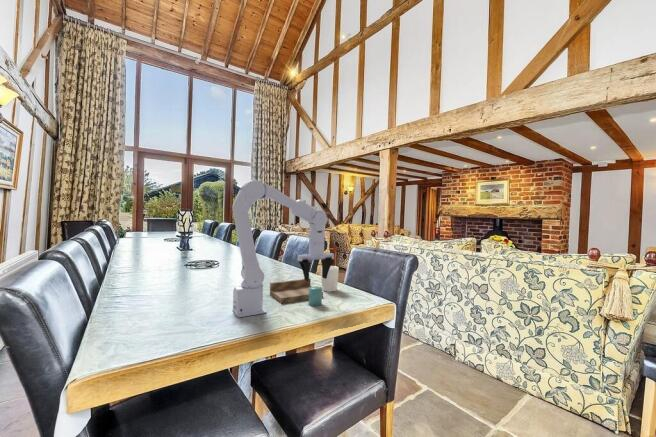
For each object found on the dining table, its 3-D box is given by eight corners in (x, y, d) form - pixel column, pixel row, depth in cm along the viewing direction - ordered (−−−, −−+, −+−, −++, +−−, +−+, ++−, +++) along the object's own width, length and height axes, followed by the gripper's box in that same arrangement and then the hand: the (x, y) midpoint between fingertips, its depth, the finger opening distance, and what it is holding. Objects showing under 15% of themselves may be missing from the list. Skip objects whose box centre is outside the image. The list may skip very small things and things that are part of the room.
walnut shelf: (281, 303, 105) (281, 290, 105) (269, 294, 115) (270, 282, 115) (322, 297, 115) (323, 284, 114) (309, 289, 125) (309, 278, 125)
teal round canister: (312, 307, 102) (312, 290, 102) (305, 303, 107) (306, 287, 106) (324, 305, 105) (324, 289, 105) (317, 301, 109) (318, 285, 109)
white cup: (338, 287, 129) (339, 266, 129) (337, 292, 121) (338, 269, 121) (321, 286, 130) (322, 265, 130) (319, 291, 122) (319, 268, 122)
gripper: (304, 244, 98) (303, 283, 98) (338, 243, 106) (337, 279, 106) (295, 242, 104) (294, 279, 104) (328, 241, 112) (327, 275, 112)
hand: (315, 278), depth 106 cm, fingers open, 7 cm apart
